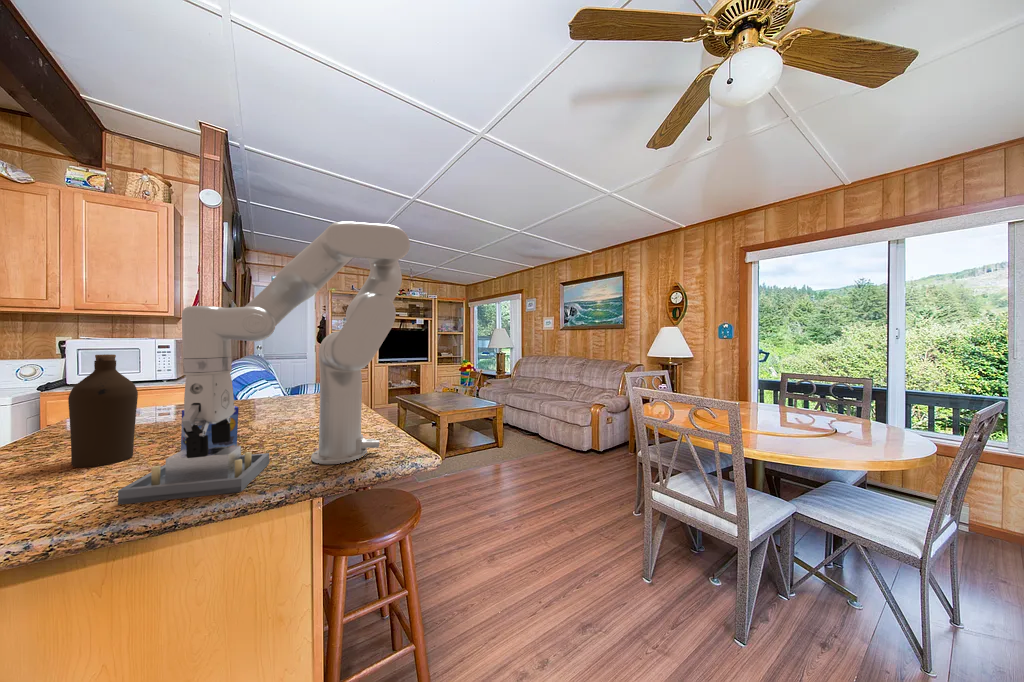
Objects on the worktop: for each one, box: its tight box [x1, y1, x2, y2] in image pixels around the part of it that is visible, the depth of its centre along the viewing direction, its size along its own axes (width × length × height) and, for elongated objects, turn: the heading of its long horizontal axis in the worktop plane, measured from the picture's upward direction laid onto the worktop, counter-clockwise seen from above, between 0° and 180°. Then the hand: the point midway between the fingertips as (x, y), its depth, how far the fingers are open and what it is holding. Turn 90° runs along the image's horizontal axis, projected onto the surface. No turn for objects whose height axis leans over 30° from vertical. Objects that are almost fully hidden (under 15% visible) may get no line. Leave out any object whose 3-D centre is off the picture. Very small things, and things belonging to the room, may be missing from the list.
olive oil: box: [67, 353, 139, 468], centre depth 82 cm, size 11×11×25 cm
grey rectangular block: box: [165, 445, 242, 484], centre depth 71 cm, size 10×6×5 cm, turn 108°
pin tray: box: [117, 451, 270, 506], centre depth 71 cm, size 18×16×4 cm
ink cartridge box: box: [180, 405, 240, 451], centre depth 85 cm, size 10×6×14 cm, turn 152°
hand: (210, 449), depth 72 cm, fingers open, 9 cm apart
